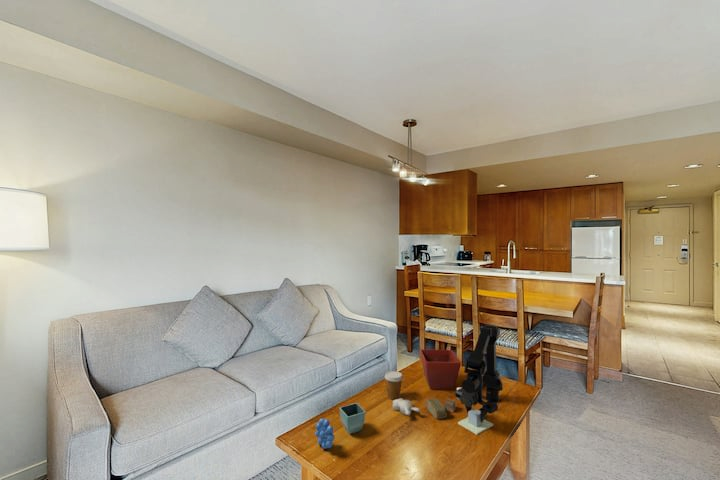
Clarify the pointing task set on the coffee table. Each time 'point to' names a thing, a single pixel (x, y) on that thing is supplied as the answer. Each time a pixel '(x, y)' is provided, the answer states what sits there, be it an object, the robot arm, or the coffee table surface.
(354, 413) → the flower pot
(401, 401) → the bunny figurine
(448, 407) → the walnut cube
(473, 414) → the slate-blue block
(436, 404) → the stone block
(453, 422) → the coffee table surface
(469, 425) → the felt mat
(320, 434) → the grapes
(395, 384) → the disposable coffee cup
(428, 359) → the plant pot
